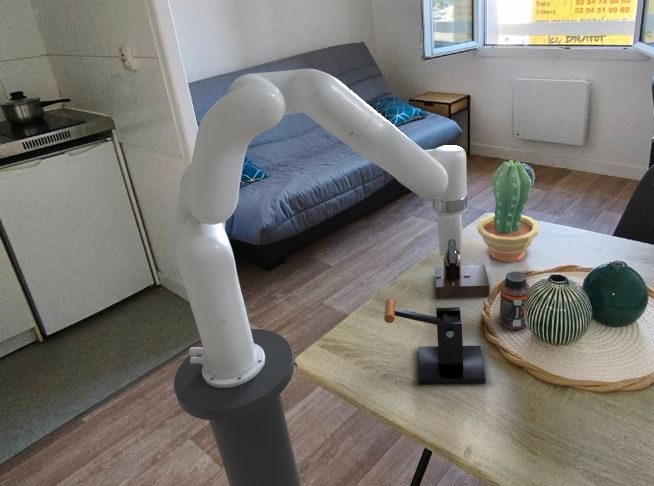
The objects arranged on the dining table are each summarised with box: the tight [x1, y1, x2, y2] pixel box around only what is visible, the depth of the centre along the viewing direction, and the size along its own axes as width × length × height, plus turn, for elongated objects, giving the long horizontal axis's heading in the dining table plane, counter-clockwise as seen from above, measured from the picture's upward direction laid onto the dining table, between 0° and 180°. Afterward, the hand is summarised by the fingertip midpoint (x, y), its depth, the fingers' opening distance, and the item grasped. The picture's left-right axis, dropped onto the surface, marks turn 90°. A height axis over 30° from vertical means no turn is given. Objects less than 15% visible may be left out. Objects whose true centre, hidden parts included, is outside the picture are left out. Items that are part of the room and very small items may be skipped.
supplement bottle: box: [499, 270, 532, 330], centre depth 103 cm, size 6×6×11 cm
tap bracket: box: [418, 306, 487, 385], centre depth 93 cm, size 12×9×12 cm
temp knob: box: [442, 254, 462, 278], centre depth 117 cm, size 4×4×5 cm
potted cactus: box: [476, 159, 540, 263], centre depth 126 cm, size 15×15×25 cm
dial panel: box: [434, 264, 490, 299], centre depth 118 cm, size 12×9×3 cm
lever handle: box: [383, 298, 458, 326], centre depth 91 cm, size 13×5×2 cm, turn 86°
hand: (452, 272), depth 118 cm, fingers closed on temp knob, 4 cm apart
